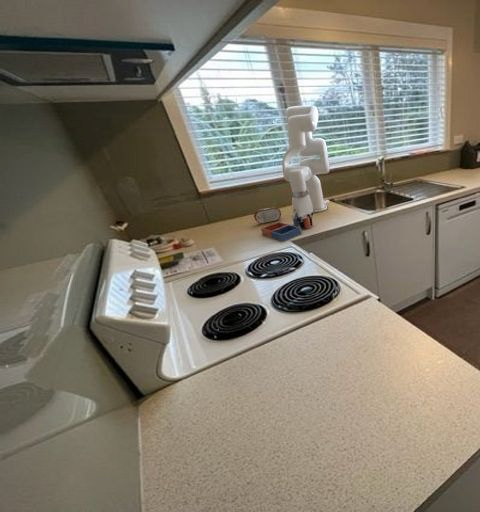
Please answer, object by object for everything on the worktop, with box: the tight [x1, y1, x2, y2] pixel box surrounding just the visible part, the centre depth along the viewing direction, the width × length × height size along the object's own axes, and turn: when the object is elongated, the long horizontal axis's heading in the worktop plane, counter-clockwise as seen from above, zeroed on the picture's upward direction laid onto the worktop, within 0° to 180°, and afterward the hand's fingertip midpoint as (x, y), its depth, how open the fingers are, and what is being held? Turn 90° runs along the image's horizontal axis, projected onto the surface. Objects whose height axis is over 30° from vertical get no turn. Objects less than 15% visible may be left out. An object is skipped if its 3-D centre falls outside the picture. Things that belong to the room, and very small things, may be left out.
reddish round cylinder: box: [303, 215, 312, 230], centre depth 160 cm, size 4×4×6 cm
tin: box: [253, 206, 282, 225], centre depth 173 cm, size 15×3×8 cm, turn 121°
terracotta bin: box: [260, 221, 290, 239], centre depth 158 cm, size 11×9×4 cm
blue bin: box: [271, 224, 302, 242], centre depth 152 cm, size 11×9×4 cm
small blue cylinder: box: [291, 214, 300, 227], centre depth 165 cm, size 4×4×6 cm
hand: (306, 226), depth 161 cm, fingers closed on reddish round cylinder, 4 cm apart
